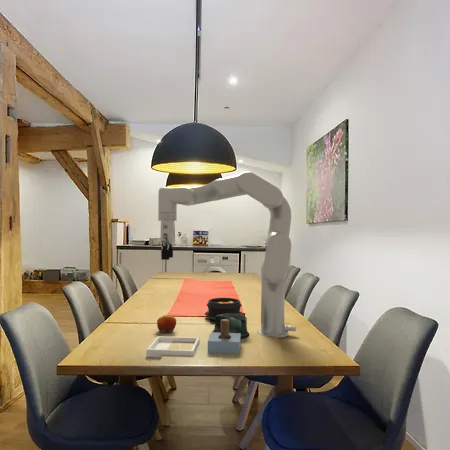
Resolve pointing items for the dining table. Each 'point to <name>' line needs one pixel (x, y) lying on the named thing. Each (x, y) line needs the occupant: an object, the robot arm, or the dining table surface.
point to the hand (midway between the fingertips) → (167, 258)
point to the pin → (224, 329)
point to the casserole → (223, 307)
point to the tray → (163, 343)
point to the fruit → (166, 323)
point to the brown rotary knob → (233, 324)
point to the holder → (224, 343)
